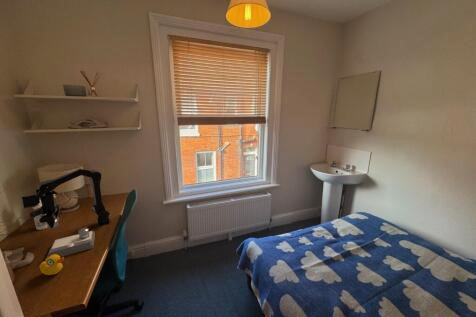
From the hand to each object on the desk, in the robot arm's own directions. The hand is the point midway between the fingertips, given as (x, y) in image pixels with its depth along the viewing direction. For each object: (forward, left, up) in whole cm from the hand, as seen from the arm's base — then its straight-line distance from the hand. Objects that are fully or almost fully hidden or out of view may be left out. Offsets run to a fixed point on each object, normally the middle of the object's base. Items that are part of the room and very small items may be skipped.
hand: (53, 225), depth 121 cm
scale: (-10, +13, -10) cm, 19 cm away
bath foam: (+11, -24, -10) cm, 28 cm away
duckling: (-5, +34, -10) cm, 36 cm away
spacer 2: (-16, +11, -7) cm, 20 cm away
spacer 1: (0, 0, -1) cm, 1 cm away
